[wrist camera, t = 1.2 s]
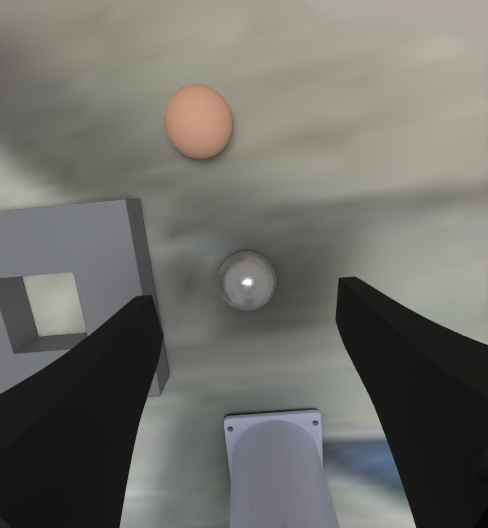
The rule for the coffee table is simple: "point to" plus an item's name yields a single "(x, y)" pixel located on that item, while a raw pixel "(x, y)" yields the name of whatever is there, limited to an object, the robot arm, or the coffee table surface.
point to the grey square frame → (85, 273)
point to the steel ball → (246, 280)
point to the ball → (198, 121)
